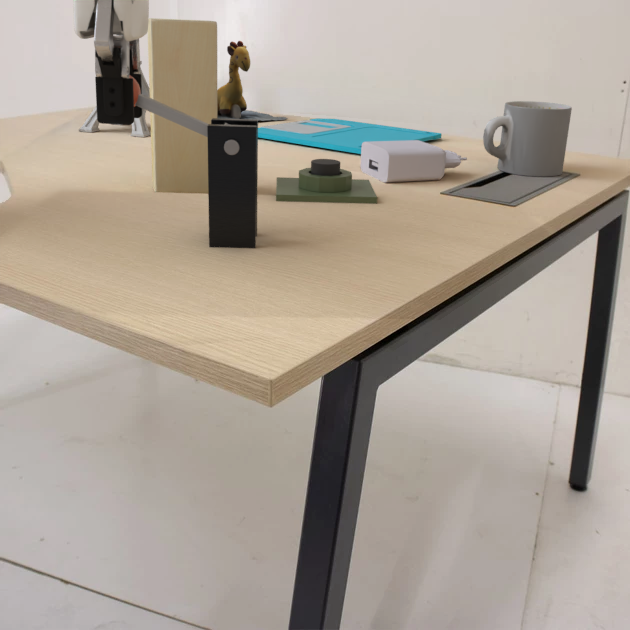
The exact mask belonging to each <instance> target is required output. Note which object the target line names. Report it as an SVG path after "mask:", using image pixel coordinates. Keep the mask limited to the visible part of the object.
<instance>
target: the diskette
mask: <svg viewBox="0 0 630 630" xmlns="http://www.w3.org/2000/svg"><path fill="white" fill-rule="evenodd" d="M258 139H267V140H270V141H271V140H273V141H277V142H285V143H290V144H296V145H297V144H298V145H303V146H309V147H315V148H321V149H327V150H333V151H339V152H340V151H341V152H344V153H345V152H346V153H352V154H358V155H361V146H362V143H363V142H371V141H406V140H419V141H422V142H428V141H434V140H440V139H442V133H441V132H434V131H428V130H420V129H413V128H412V129H411V128H405V127H398V126H390V125H383V124H376V123H369V122H360V121H354V120H345V119H339V118H311V119H303V120H297V121H289V122H283V123H277V124H270V125H262V126H260V127H258Z"/></svg>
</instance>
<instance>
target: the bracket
mask: <svg viewBox="0 0 630 630" xmlns="http://www.w3.org/2000/svg"><path fill="white" fill-rule="evenodd" d="M225 123H228V124H230V125H224V124H225ZM258 128H259V121H258V120H255V119H221V118H212V120H211V124H208V126H207V133H208V194H207V196H208V197H207V198H208V247H209V248H221V249H222V248H223V249H224V248H225V249H227V248H228V249H256V248H257V237H258V177H259V176H258V172H259V171H258V168H259V165H258V163H259V161H258V160H259V154H258V153H259V137H258Z"/></svg>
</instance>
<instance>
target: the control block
mask: <svg viewBox="0 0 630 630" xmlns="http://www.w3.org/2000/svg"><path fill="white" fill-rule="evenodd" d="M275 189H276V190H275V201H276V202H293V203H295V202H296V203H297V202H298V203H331V204H332V203H334V204H336V203H337V204H372V205H373V204H375V205H376V204H378V196H377V194H376V192H375V190H374V188H373V186H372V183H371V181H370V180H369V179H359V178H358V179H355V178H353V173H352V172H351V171H349V170H347V169H343V168H340V175H336V176H320V175H313V174H311V167H305V168H303V169H299V170H298V177H283V176H282V177H281V176H280V177H276V188H275Z"/></svg>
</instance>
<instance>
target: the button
mask: <svg viewBox="0 0 630 630" xmlns="http://www.w3.org/2000/svg"><path fill="white" fill-rule="evenodd" d="M310 168H311V174H313V175H320V176H336V175H340V169H341V161H340V160H337V159H332V158H329V159H328V158H316V159H312V160H311V161H310Z"/></svg>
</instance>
